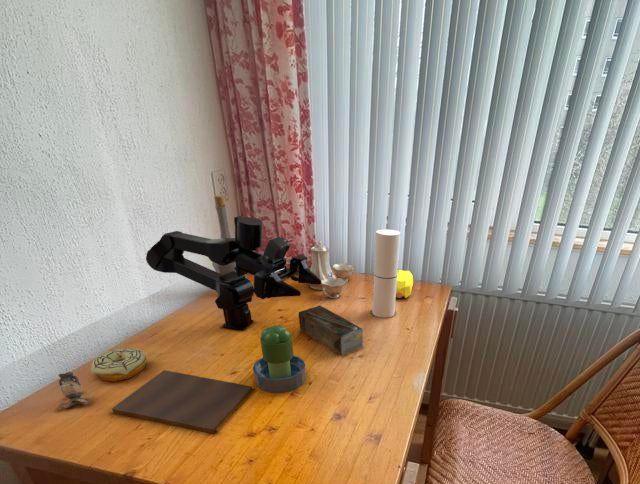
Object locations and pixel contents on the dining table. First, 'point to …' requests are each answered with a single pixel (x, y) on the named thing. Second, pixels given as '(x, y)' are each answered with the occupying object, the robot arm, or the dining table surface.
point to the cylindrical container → (385, 272)
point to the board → (184, 401)
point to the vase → (71, 389)
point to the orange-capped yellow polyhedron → (404, 284)
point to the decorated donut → (119, 364)
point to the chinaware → (329, 272)
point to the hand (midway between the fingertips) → (310, 288)
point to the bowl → (282, 384)
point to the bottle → (223, 233)
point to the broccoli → (277, 351)
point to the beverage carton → (331, 329)
